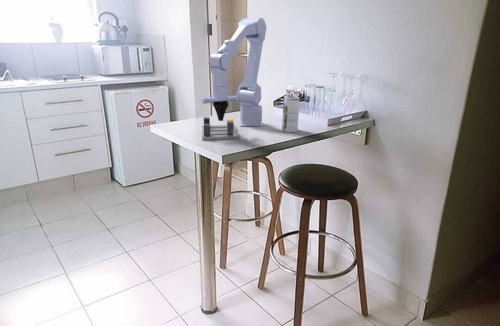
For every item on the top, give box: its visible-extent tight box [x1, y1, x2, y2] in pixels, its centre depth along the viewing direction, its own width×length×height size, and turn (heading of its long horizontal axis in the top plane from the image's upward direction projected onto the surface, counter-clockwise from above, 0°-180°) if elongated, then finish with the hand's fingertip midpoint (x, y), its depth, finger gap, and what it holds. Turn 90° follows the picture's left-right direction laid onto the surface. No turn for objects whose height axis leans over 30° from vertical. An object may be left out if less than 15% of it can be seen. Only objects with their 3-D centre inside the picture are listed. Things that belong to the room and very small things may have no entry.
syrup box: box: [281, 94, 301, 133], centre depth 149 cm, size 6×6×14 cm
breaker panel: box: [201, 116, 240, 141], centre depth 145 cm, size 14×18×5 cm
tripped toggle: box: [226, 118, 235, 131], centre depth 145 cm, size 2×3×4 cm
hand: (220, 120), depth 144 cm, fingers closed
